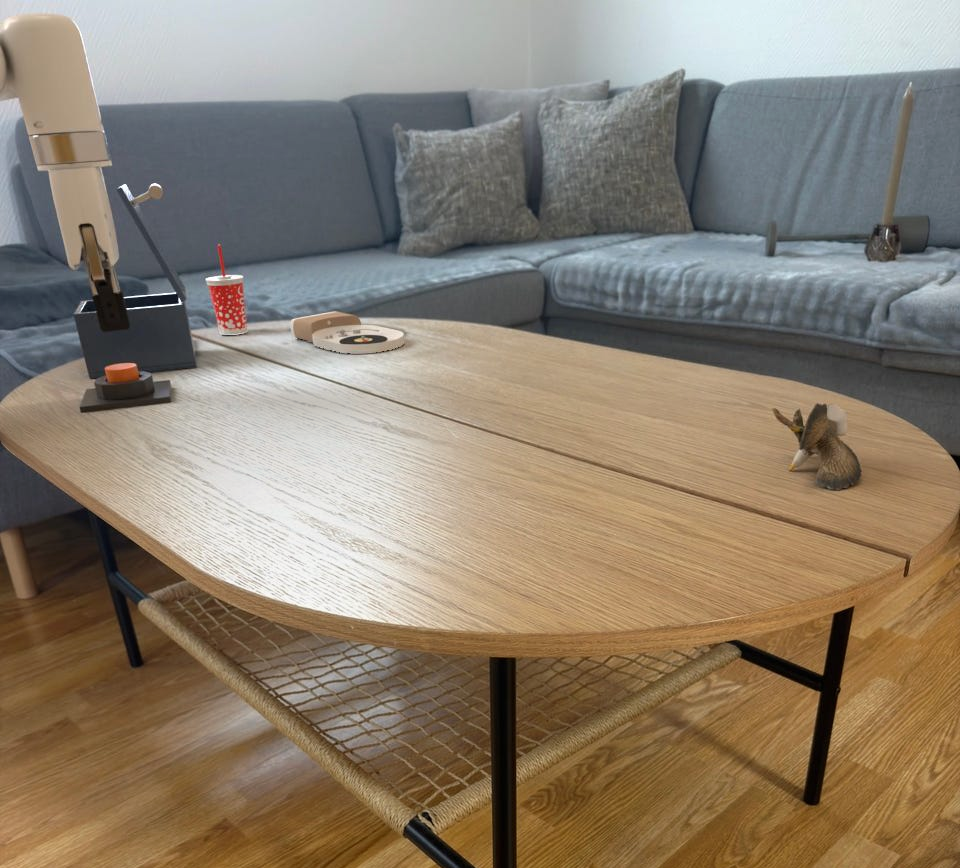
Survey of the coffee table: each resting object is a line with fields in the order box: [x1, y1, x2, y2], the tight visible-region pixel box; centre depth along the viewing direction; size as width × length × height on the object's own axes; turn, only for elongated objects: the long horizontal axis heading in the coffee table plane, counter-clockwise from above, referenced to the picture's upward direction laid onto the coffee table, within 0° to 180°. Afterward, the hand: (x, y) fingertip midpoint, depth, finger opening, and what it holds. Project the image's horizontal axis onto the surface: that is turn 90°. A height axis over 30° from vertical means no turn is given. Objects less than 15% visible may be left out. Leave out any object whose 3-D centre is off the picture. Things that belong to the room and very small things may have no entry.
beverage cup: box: [205, 244, 248, 335], centre depth 144 cm, size 6×6×14 cm
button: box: [105, 363, 139, 382], centre depth 104 cm, size 4×4×2 cm
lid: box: [115, 183, 187, 302], centre depth 123 cm, size 16×13×5 cm
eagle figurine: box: [771, 402, 862, 491], centre depth 76 cm, size 8×7×9 cm
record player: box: [290, 310, 405, 355], centre depth 136 cm, size 12×3×20 cm
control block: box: [79, 371, 172, 414], centre depth 105 cm, size 10×9×4 cm
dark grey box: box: [72, 292, 198, 380], centre depth 127 cm, size 15×13×9 cm
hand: (116, 329), depth 102 cm, fingers closed
